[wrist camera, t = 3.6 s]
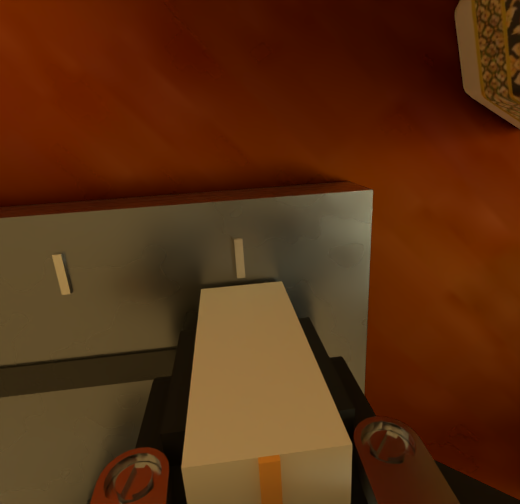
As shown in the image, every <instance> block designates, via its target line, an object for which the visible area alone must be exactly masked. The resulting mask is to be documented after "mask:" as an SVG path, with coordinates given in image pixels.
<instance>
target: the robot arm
mask: <svg viewBox="0 0 520 504" xmlns="http://www.w3.org/2000/svg"><path fill="white" fill-rule="evenodd" d="M298 320H299V322H300V324H301V327H302V329H303V331H304V334H305V336H306V338H307V341H308V343H309V345H310V348H311V350H312V352H313V355H314V357H315V359H316V361H317V364H318V366H319V368H320V371H321V373H322V375H323V378H324V380H325V382H326V385H327V387H328V389H329V391H330V394H331V396H332V398H333V401H334V403H335V405H336V408H337V410H338V412H339V415H340V417H341V419H342V421H343V424H344V426H345V428H346V431H347V433H348V435H349V438H350V440H351V442H352V475H351V504H520V500H518V499H516V498H514V497H511V496H509V495H507V494H505V493H503V492H501V491H499V490H497V489H495V488H492V487H490V486H488V485H486V484H484V483H482V482H480V481H478V480H475V479H473V478H471V477H469V476H467V475H465V474H463V473H461V472H459V471H456V470H454V469H452V468H450V467H448V466H446V465H444V464H442V463H439V462H437V461H435V460H433V458H432V457H431V455H430V453H429V452H428V450H427V448H426V447H425V445H424V443H423V442H422V440H421V438H420V437H419V436H418V435H417V433H416V432H415V431H414V430H413V429H412V428H410V427H409V426H408V425H406V424H405V423H403V422H401V421H399V420H396V419H393V418H389V417H382V416H376V415H375V413H374V412H373V410H372V408H371V406H370V404H369V403H368V401H367V399H366V397H365V395H364V394H363V392H362V390H361V388H360V387H359V385H358V383H357V381H356V379H355V378H354V376H353V374H352V372H351V370H350V369H349V367H348V365H347V363H346V362H345V360H344V358H343V357H341V356H338V357H329V356H328V354H327V352H326V350H325V348H324V346H323V344H322V342H321V340H320V338H319V336H318V334H317V332H316V330H315V328H314V326H313V324H312V322H311V320H310V318H309V317H304V318H298ZM196 331H197V329H191V330H182V331H180V334H179V340H178V345H177V350H176V355H175V360H174V365H173V371H172V376H166V377H157V378H155V379H154V380H153V383H152V386H151V390H150V394H149V398H148V402H147V405H146V409H145V413H144V417H143V421H142V424H141V428H140V432H139V436H138V439H137V443H136V447H135V449H133V450H129V451H127V452H125V453H123V454H121V455H119V456H117V457H116V458H115V459H114V460H113V461H111V462H110V463H109V464H108V465H107V466H106V467H105V469H104V470H103V471H102V472H101V474H100V476H99V478H98V480H97V482H96V485H95V489H94V492H93V495H92V499H91V502H90V504H187V500H186V494H185V488H184V482H183V476H182V470H181V466H182V457H183V448H184V439H185V430H186V421H187V412H188V403H189V394H190V385H191V376H192V367H193V358H194V349H195V340H196Z"/></svg>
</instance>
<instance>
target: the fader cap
mask: <svg viewBox="0 0 520 504" xmlns="http://www.w3.org/2000/svg"><path fill="white" fill-rule="evenodd" d="M181 470H182V476H183V482H184V488H185V494H186V500H187V504H351V475H352V442H351V440H350V438H349V435H348V433H347V431H346V428H345V426H344V424H343V421H342V419H341V417H340V415H339V412H338V410H337V408H336V405H335V403H334V401H333V398H332V396H331V394H330V391H329V389H328V387H327V385H326V382H325V380H324V378H323V375H322V373H321V371H320V368H319V366H318V364H317V361H316V359H315V357H314V355H313V352H312V350H311V348H310V345H309V343H308V341H307V338H306V336H305V334H304V331H303V329H302V327H301V324H300V322H299V320H298V318H297V315H296V313H295V311H294V308H293V306H292V304H291V301H290V299H289V297H288V294H287V292H286V290H285V288H284V285H283V283H282V281H280V282H269V283H259V284H249V285H238V286H228V287H218V288H207V289H201V294H200V303H199V312H198V322H197V331H196V340H195V349H194V358H193V367H192V376H191V385H190V394H189V403H188V412H187V421H186V430H185V439H184V448H183V457H182V466H181Z"/></svg>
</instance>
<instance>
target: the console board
mask: <svg viewBox="0 0 520 504" xmlns="http://www.w3.org/2000/svg"><path fill="white" fill-rule="evenodd" d="M372 201H373V190H372V189H369V188H367V187H364V186H361V185H358V184H355V183H353V182H350V181H346V182H333V183H319V184H306V185H292V186H278V187H265V188H251V189H238V190H224V191H210V192H197V193H183V194H170V195H156V196H142V197H129V198H115V199H102V200H88V201H75V202H61V203H47V204H34V205H20V206H7V207H0V504H90V502H91V499H92V495H93V492H94V489H95V485H96V482H97V480H98V478H99V476H100V474H101V472H102V471H103V470H104V469H105V467H106V466H107V465H108V464H109V463H110V462H111V461H113V460H114V459H115V458H116V457H117V456H119V455H121V454H123V453H125V452H127V451H129V450H133V449H135V447H136V443H137V439H138V436H139V432H140V428H141V424H142V421H143V417H144V413H145V409H146V405H147V402H148V398H149V394H150V390H151V386H152V383H153V380H154V379H155V378H157V377H166V376H172V371H173V365H174V360H175V355H176V350H177V345H178V340H179V334H180V331H182V330H191V329H197V322H198V312H199V303H200V294H201V289H207V288H218V287H228V286H238V285H249V284H259V283H269V282H280V281H282V283H283V285H284V288H285V290H286V292H287V294H288V297H289V299H290V301H291V304H292V306H293V308H294V311H295V313H296V315H297V318H304V317H309V318H310V320H311V322H312V324H313V326H314V328H315V330H316V332H317V334H318V336H319V338H320V340H321V342H322V344H323V346H324V348H325V350H326V352H327V354H328V356H329V357H338V356H341V357H343V358H344V360H345V362H346V363H347V365H348V367H349V369H350V370H351V372H352V374H353V376H354V378H355V379H356V381H357V383H358V385H359V387H360V388H361V390H362V392H363V394H364V391H365V367H366V343H367V320H368V296H369V272H370V249H371V225H372Z"/></svg>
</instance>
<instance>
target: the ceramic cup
mask: <svg viewBox="0 0 520 504" xmlns="http://www.w3.org/2000/svg"><path fill="white" fill-rule="evenodd" d="M455 23H456V32H457V40H458V48H459V56H460V64H461V72H462V80H463V88H464V91H465V92H466V93H467V94H468V95H469V96H470V97H471V98H473V99H474V100H476V101H477V102H479V103H480V104H482V105H484V106H485V107H487V108H488V109H490V110H491V111H493V112H494V113H496V114H497V115H499V116H500V117H502V118H503V119H505V120H506V121H508V122H509V123H511V124H512V125H514V126H515V127H517V128H519V129H520V0H460V1H459V3H458V5H457V7H456V9H455Z"/></svg>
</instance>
